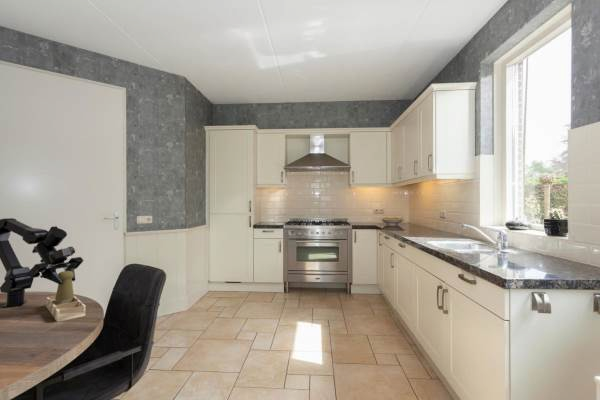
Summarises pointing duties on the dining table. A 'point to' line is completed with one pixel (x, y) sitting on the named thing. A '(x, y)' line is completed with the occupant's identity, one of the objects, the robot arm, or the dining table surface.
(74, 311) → the wooden compartment tray
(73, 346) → the dining table surface
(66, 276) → the cork
